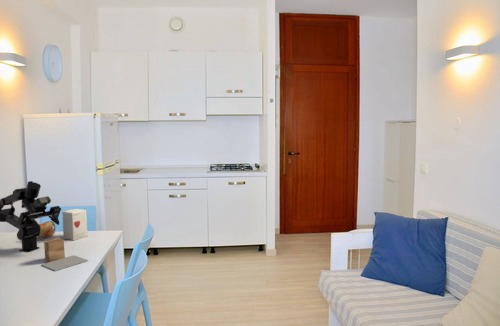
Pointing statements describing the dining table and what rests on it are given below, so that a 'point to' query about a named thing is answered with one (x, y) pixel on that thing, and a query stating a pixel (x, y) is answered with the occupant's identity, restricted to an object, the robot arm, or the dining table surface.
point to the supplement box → (74, 224)
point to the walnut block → (54, 249)
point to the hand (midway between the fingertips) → (49, 226)
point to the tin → (46, 230)
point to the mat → (64, 263)
